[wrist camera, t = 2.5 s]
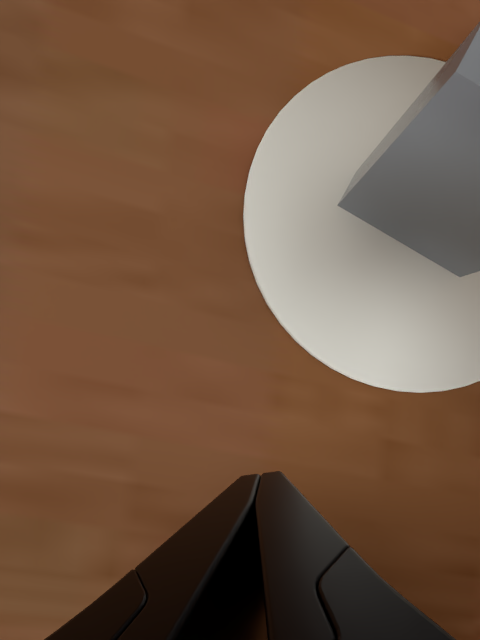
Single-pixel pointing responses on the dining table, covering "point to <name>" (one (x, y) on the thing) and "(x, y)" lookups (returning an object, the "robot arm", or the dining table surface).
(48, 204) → the dining table surface
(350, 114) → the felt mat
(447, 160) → the slate tile
